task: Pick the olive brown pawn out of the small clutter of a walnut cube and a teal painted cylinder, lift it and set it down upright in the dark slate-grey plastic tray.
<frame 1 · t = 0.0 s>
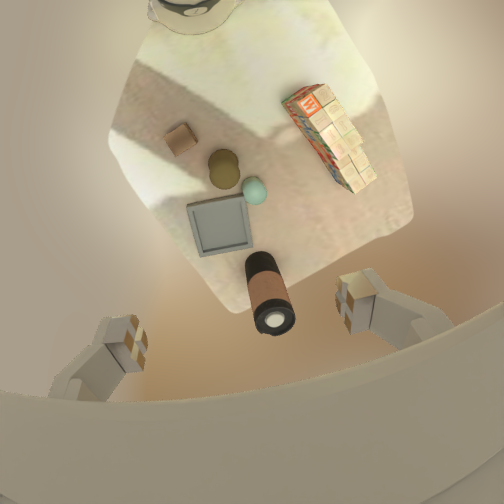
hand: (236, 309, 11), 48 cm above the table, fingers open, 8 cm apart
teal cylinder: (252, 186, 58), on the table
olive brown pawn: (223, 163, 55), on the table
tray: (220, 224, 61), on the table
travel mug: (259, 263, 67), on the table
walnut cube: (182, 137, 51), on the table
stack of blocks: (321, 135, 54), on the table
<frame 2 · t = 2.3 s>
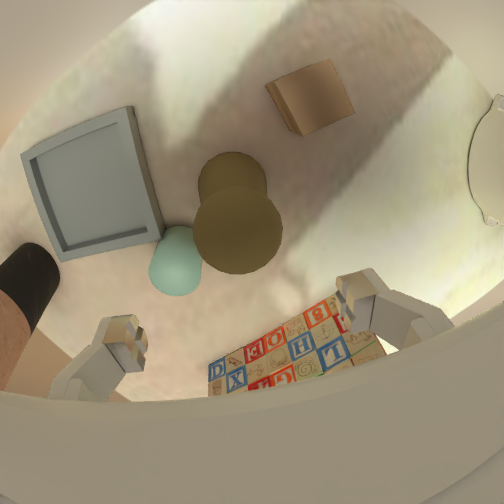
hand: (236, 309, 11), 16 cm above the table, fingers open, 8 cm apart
teal cylinder: (180, 245, 27), on the table
olive brown pawn: (232, 184, 25), on the table
tray: (91, 186, 23), on the table
travel mug: (38, 267, 26), on the table
walnut cube: (300, 97, 21), on the table
stack of blocks: (284, 340, 36), on the table
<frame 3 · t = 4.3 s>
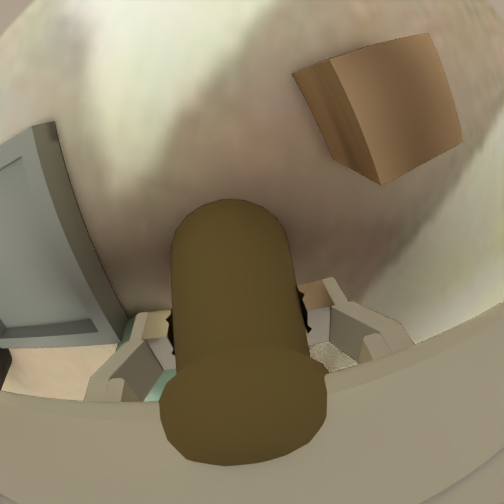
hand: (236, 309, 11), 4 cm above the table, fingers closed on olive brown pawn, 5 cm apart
teal cylinder: (154, 339, 17), on the table
olive brown pawn: (230, 254, 14), on the table, touching gripper
tray: (16, 253, 12), on the table
walnut cube: (353, 99, 11), on the table
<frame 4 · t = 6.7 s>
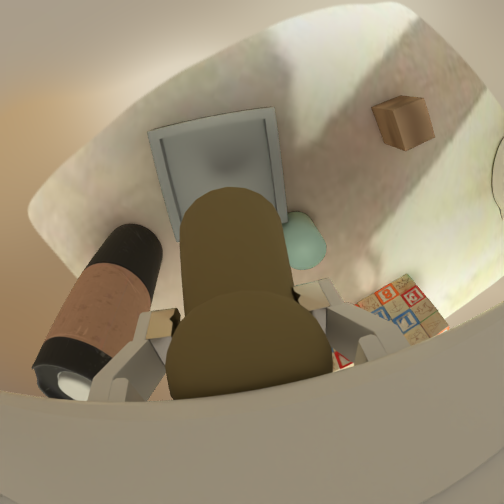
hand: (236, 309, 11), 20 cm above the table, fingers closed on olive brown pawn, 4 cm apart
teal cylinder: (294, 229, 32), on the table
olive brown pawn: (231, 235, 16), point 14 cm above the table, touching gripper
tray: (220, 172, 28), on the table
travel mug: (135, 249, 32), on the table
walnut cube: (392, 118, 26), on the table
stack of blocks: (353, 317, 41), on the table
when the fingers open (7 cm above the table, at t = 9.1 s): olive brown pawn stays where it is, resting on tray.
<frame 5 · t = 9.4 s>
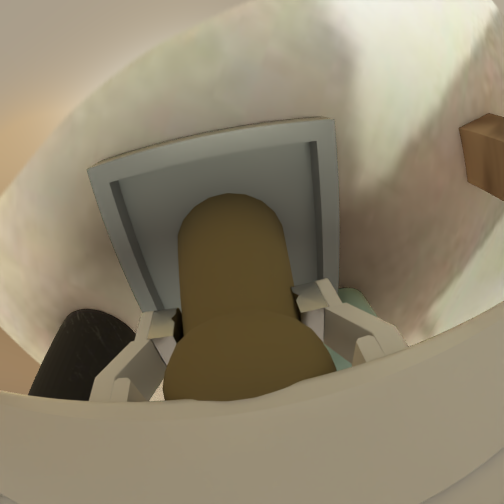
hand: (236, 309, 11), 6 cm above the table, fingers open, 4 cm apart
teal cylinder: (339, 310, 21), on the table
olive brown pawn: (231, 243, 16), point 1 cm above the table, touching gripper, tray
tray: (227, 235, 16), on the table
travel mug: (101, 340, 20), on the table
walnut cube: (479, 146, 15), on the table
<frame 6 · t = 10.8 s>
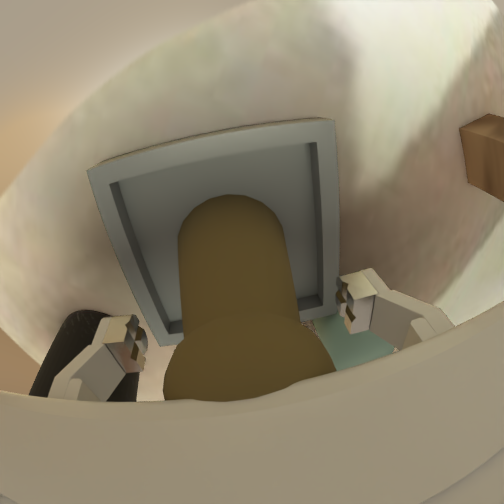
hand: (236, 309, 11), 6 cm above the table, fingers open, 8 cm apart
teal cylinder: (339, 311, 21), on the table
olive brown pawn: (231, 244, 16), point 1 cm above the table, touching tray
tray: (227, 236, 16), on the table
travel mug: (101, 340, 20), on the table
walnut cube: (479, 147, 15), on the table
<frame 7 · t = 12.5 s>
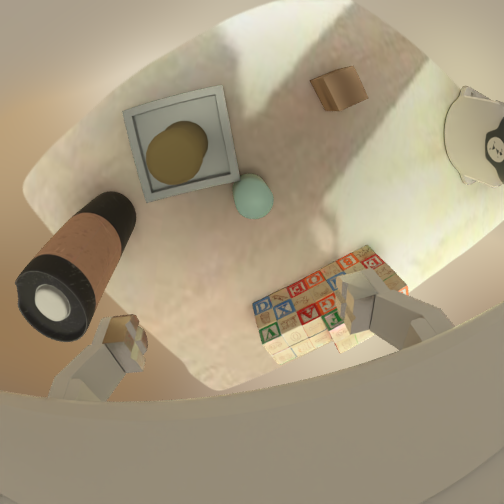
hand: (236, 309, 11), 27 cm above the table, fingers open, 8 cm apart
teal cylinder: (249, 189, 36), on the table
olive brown pawn: (183, 144, 32), point 1 cm above the table, touching tray
tray: (182, 142, 32), on the table
travel mug: (112, 215, 35), on the table
walnut cube: (331, 89, 31), on the table
stack of blocks: (316, 286, 46), on the table
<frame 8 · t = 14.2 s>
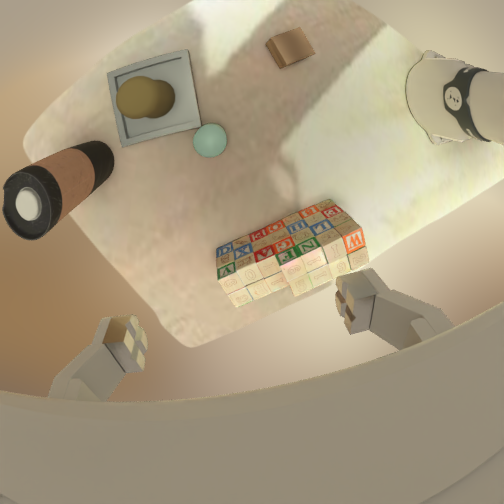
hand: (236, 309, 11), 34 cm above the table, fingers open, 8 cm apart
teal cylinder: (211, 137, 39), on the table
olive brown pawn: (155, 98, 34), point 1 cm above the table, touching tray
tray: (155, 97, 34), on the table
travel mug: (95, 162, 38), on the table
walnut cube: (285, 50, 33), on the table
stack of blocks: (279, 236, 49), on the table
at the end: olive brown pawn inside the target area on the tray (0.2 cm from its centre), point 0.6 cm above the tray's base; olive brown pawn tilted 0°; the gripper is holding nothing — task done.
